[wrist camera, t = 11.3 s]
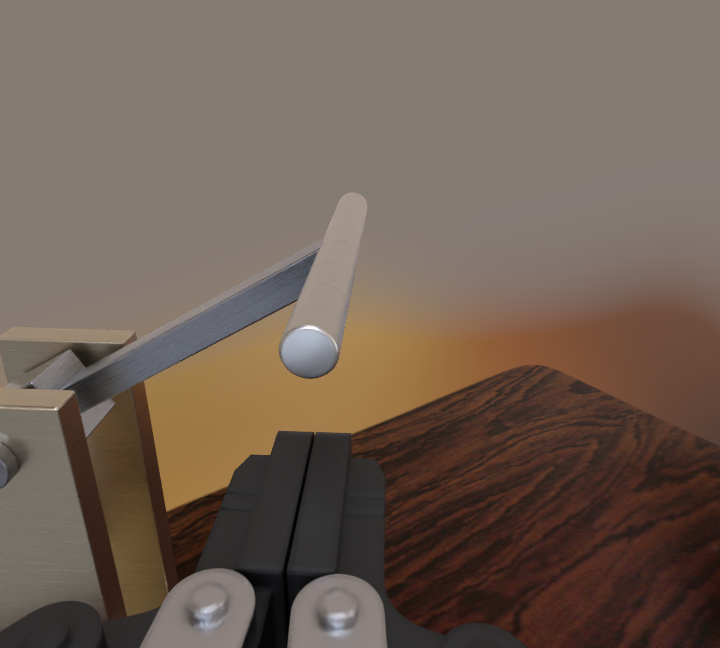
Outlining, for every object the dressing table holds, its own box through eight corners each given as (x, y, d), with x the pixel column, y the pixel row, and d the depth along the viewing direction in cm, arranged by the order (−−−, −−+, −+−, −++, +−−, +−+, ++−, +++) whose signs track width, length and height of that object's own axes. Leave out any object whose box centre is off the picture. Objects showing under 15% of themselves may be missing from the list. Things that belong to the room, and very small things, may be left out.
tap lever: (380, 227, 21) (349, 170, 20) (368, 393, 10) (298, 283, 9) (118, 368, 24) (82, 324, 23) (-108, 611, 13) (-190, 542, 12)
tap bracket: (229, 631, 26) (191, 325, 20) (186, 778, 21) (114, 422, 14) (64, 622, 27) (-27, 319, 20) (-22, 764, 21) (-183, 409, 15)
